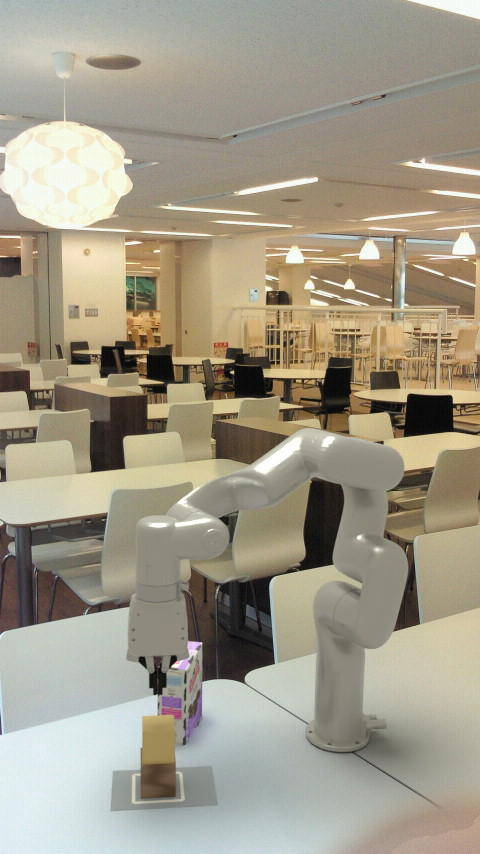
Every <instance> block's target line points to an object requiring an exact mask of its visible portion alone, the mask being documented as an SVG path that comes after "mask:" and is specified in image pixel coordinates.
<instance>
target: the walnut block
mask: <svg viewBox="0 0 480 854" xmlns="http://www.w3.org/2000/svg"><path fill="white" fill-rule="evenodd" d="M176 760H177V759H175V763H167V764H146V765H142V747H140V770H141V799H145V798H164V797H176V768H177V766H176V765H177V761H176Z"/></svg>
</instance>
